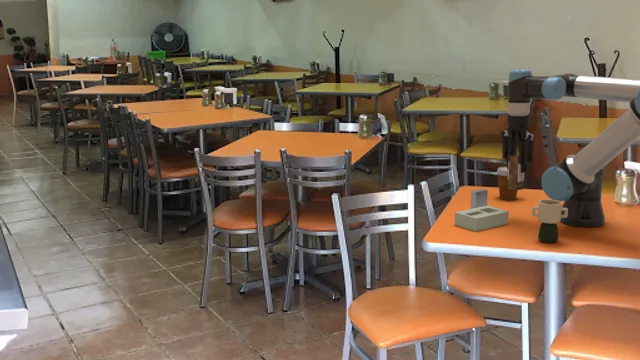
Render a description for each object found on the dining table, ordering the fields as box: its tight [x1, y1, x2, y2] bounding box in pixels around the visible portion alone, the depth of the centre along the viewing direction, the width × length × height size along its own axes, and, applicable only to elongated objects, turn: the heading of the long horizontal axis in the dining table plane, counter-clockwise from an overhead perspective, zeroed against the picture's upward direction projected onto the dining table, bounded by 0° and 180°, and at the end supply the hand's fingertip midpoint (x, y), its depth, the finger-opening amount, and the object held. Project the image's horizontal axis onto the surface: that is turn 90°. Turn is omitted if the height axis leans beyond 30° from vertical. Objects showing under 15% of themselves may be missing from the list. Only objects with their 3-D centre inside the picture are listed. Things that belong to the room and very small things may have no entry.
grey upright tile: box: [470, 188, 489, 209], centre depth 266 cm, size 2×6×9 cm, turn 124°
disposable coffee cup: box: [496, 166, 519, 201], centre depth 289 cm, size 10×10×12 cm
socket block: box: [454, 205, 510, 232], centre depth 254 cm, size 10×16×4 cm, turn 124°
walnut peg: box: [508, 154, 524, 191], centre depth 258 cm, size 4×4×12 cm
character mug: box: [531, 198, 568, 243], centre depth 234 cm, size 11×7×13 cm, turn 77°
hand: (515, 180), depth 258 cm, fingers closed on walnut peg, 4 cm apart
